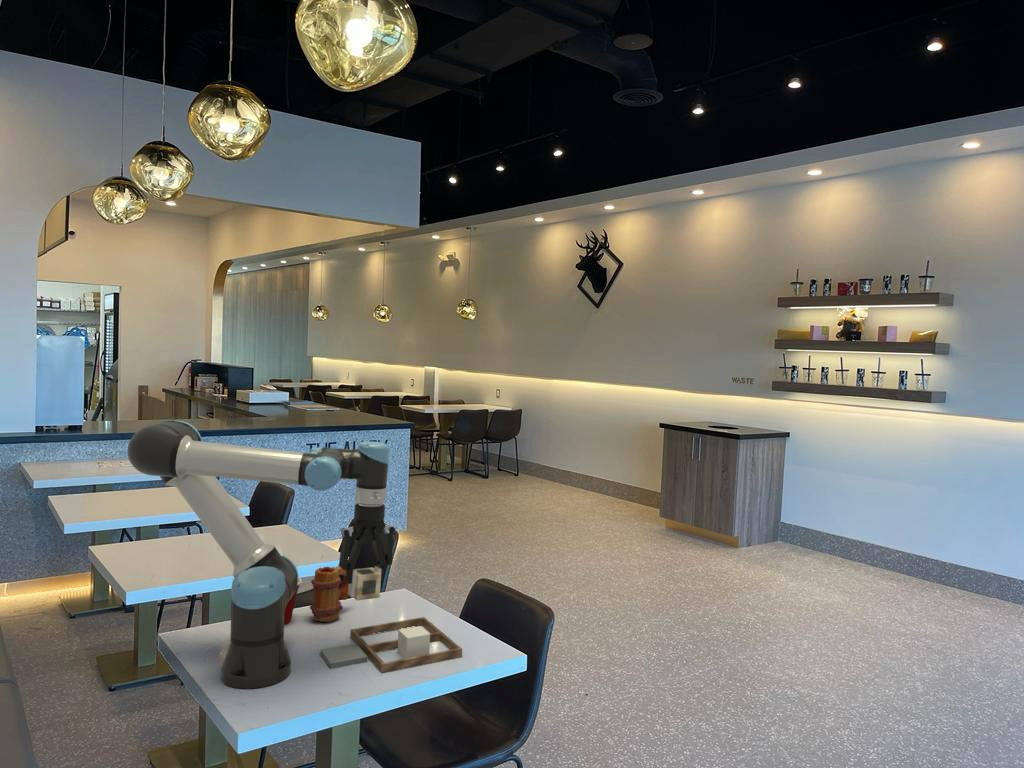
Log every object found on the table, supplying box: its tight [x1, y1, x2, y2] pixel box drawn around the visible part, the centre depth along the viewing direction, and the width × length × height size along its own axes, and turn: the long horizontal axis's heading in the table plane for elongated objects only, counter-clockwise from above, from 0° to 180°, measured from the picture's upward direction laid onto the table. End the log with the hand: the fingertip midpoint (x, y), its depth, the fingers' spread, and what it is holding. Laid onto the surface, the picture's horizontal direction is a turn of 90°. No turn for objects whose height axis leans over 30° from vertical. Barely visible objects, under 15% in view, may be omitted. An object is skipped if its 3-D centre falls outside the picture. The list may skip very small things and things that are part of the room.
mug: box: [309, 564, 350, 623], centre depth 202 cm, size 15×8×15 cm, turn 147°
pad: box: [319, 642, 368, 669], centre depth 175 cm, size 9×9×1 cm
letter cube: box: [353, 567, 382, 601], centre depth 180 cm, size 6×6×6 cm
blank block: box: [397, 626, 431, 659], centre depth 178 cm, size 6×6×6 cm
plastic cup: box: [284, 576, 303, 626], centre depth 197 cm, size 11×11×12 cm
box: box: [349, 616, 463, 674], centre depth 183 cm, size 21×24×2 cm
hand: (363, 594), depth 180 cm, fingers closed on letter cube, 6 cm apart
